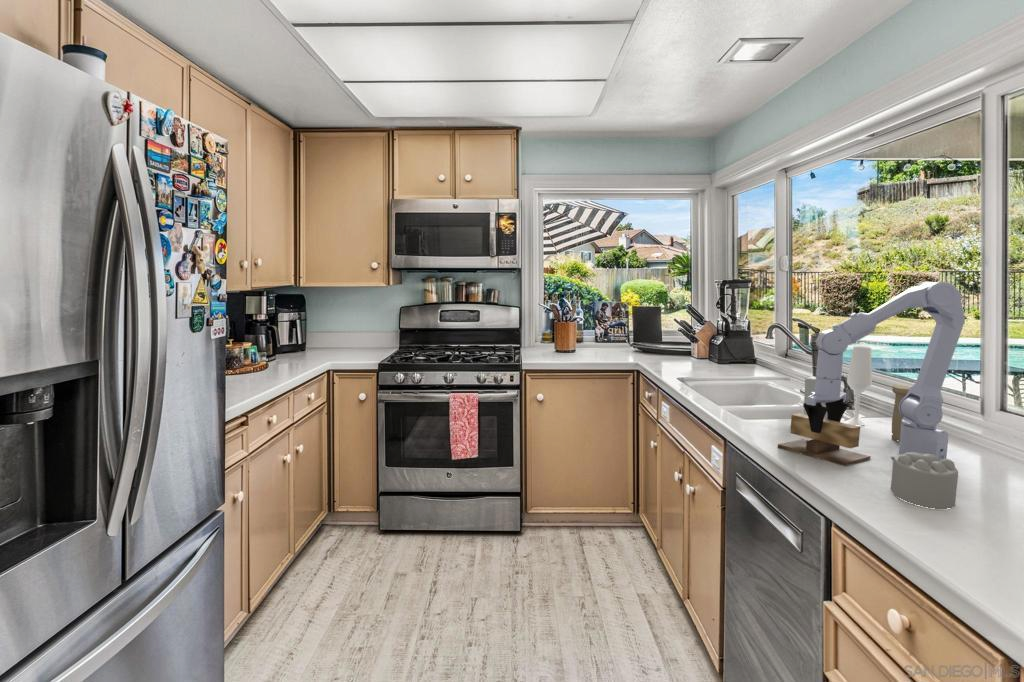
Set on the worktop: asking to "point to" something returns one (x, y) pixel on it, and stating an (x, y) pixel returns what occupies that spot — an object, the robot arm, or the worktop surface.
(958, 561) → the worktop surface
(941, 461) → the lumpy-topped squat cylinder
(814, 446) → the walnut board
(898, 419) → the handle
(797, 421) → the oak bar
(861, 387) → the champagne flute
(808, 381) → the skincare box
